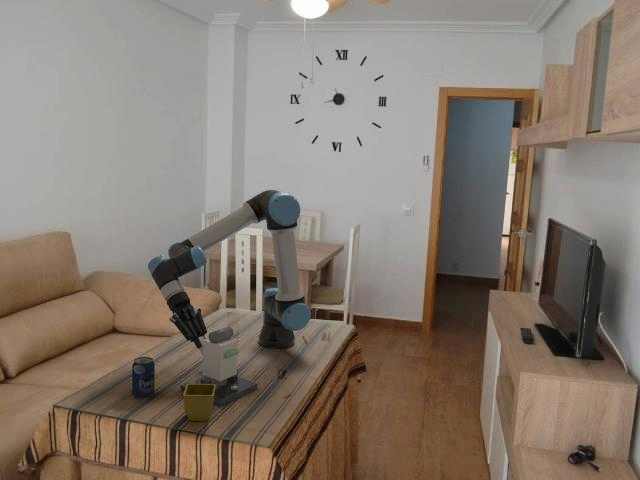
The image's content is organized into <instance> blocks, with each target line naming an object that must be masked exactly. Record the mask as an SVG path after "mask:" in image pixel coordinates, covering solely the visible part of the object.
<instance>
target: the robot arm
mask: <svg viewBox="0 0 640 480" xmlns="http://www.w3.org/2000/svg"><path fill="white" fill-rule="evenodd" d="M300 216H301V206H300V202H299V201H298V199H297V198H296V197H295V196H293V195H292V194H291V193H289V192H285V191H280V190H275V189H267V190H265V191H262V192H260V193H258V194H256V195H254V196H253V197H251V198H249V199H248V200H246V201H245V202H243V204H242V206H241V207H240V208H238V209H236V210H235V211H232V212H230V213H229V214H227V215H226V216H224V217H222V218H221V219H219V220H217V221H215V222H214V223H212V224H210V225H209V226H207V227H206V228H203V229H202V230H200V231H198V232H197V233H195V234H193V235H192V236H189V237H188V238H186V239H184V240H182V241H181V242H174V243H172V244H171V245H170V246H169V247H168V251H167V255H168V257H169V258H168V257H167V255H163V254H162V255H157V256H155V257H153V258H152V259H150V261H149V262H148V263H147V269H148V271H149V273H150V276H151V277H152V279H153V282H155V285H156V286H157V289H159V292H160V293H161V295H162V297H163V299H164V301H165V302H166V304H167V307H168V308H169V310H170V311H171V312H172V315H171V316H170V318H169V321H170V322H171V323H173V324H174V325H175V327H176V328H177V329H178V331H180V334H182V336H183V337H184V338H185V339H186V341H187V342H188V341H190V342H191V343H194V345H195V347H196V349H198V350H199V352H200V353H201V355H202V357H203V340H205V339H207V338H206V337H205V336H206V334H207V333H208V330H207V326H206V324H205V321H204V318H203V316H202V309H201V308H199V307H198V309H197V308H195V307H194V306H193V305H192V304H191V299H190V297H189V295H188V293H187V292H186V289H185V288H184V286H183V284H182V283H181V281H180V279H179V278H181V277H183V276H186V275H188V274H190V273H192V272H194V271H196V270H198V269H200V268H202V267H204V266H206V264H207V262H208V260H207V257H206V255H205V252H206V251H208V250H209V249H211V248H213V247H215V246H217V245H219V244H220V243H222V242H223V241H225V240H226V239H229V238H230V237H231V236H233V235H235V234H237V233H239V232H240V231H242V230H244V229H245V228H248V227H249V226H250V225H252V224H255V225H257V224H258V223H261V222H263V221H265V222H266V229H267V231H268V232H270V233H271V240H272V241H271V242H272V249H273V256H274V267H275V274H276V282H277V283H276V284H277V287H272V288H271V287H270V288H267V289H266V290H264V295H263V317H262V318H263V322H262V323H263V324H262V327H261V329H260V332H259V335H258V339H257V340H258V341H257V342H258V344H260V345H261V346H262V347H266V348H271V349H286V348H290V347H292V346H293V345H295V342H296V341H295V340H296V338H295V337H296V336H295V333H294V332H296V331H297V332H298V331H300V330H302V329H304V328H305V327H306V326H307V325H308V324H309V322H310V320H311V318H312V317H311V316H312V311H311V309H310V307H309V305H307V303H306V294H305V292H304V291H303V290H301V286H300V275H299V266H298V257H297V245H296V238H295V230H296V229H297V227H298V219H299V217H300Z"/></svg>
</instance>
